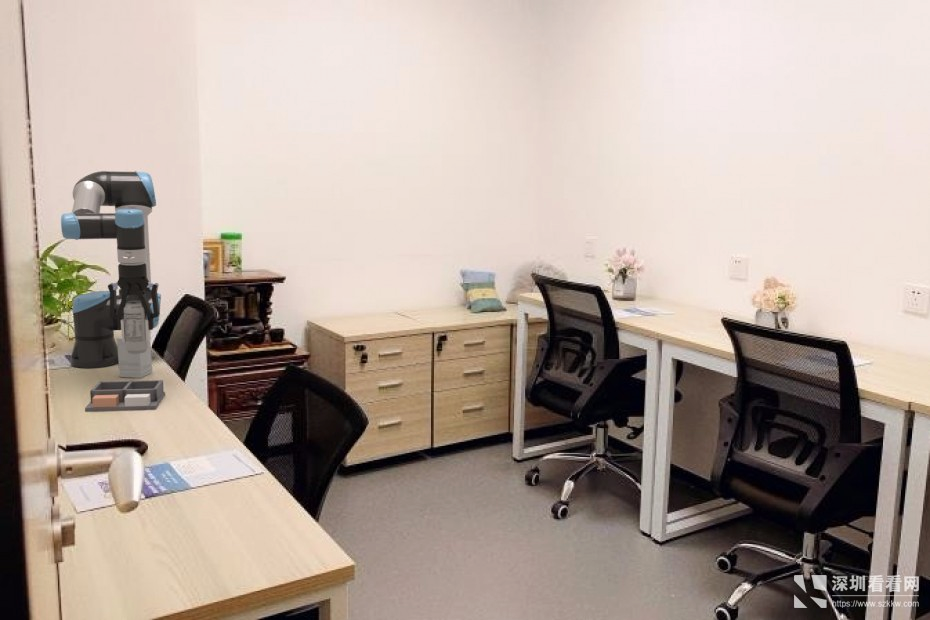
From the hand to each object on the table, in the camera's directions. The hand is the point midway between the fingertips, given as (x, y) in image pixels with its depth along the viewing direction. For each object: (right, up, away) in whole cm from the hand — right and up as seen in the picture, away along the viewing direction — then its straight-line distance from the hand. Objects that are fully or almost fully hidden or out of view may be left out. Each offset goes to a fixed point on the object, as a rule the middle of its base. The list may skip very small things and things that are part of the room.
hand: (136, 340), depth 227 cm
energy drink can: (0, -4, +1) cm, 4 cm away
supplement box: (-7, -12, +15) cm, 20 cm away
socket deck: (+2, -17, -12) cm, 21 cm away
